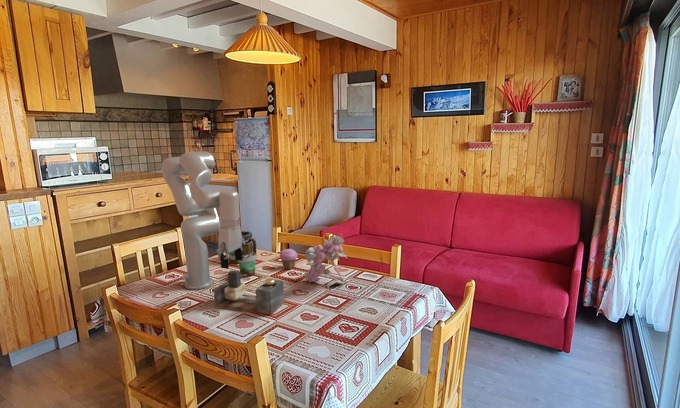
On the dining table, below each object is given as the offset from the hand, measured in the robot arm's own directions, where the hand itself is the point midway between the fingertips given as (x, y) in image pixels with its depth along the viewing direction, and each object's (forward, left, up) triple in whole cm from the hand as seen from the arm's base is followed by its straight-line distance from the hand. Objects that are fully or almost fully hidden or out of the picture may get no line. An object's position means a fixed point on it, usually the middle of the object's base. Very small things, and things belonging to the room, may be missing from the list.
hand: (232, 263), depth 154 cm
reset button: (+17, 0, -11) cm, 20 cm away
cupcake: (+3, +45, -17) cm, 48 cm away
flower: (+27, +29, -17) cm, 43 cm away
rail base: (+7, 0, -17) cm, 18 cm away
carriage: (+1, 0, -13) cm, 13 cm away
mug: (-25, +48, -17) cm, 56 cm away
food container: (-11, +31, -17) cm, 37 cm away
